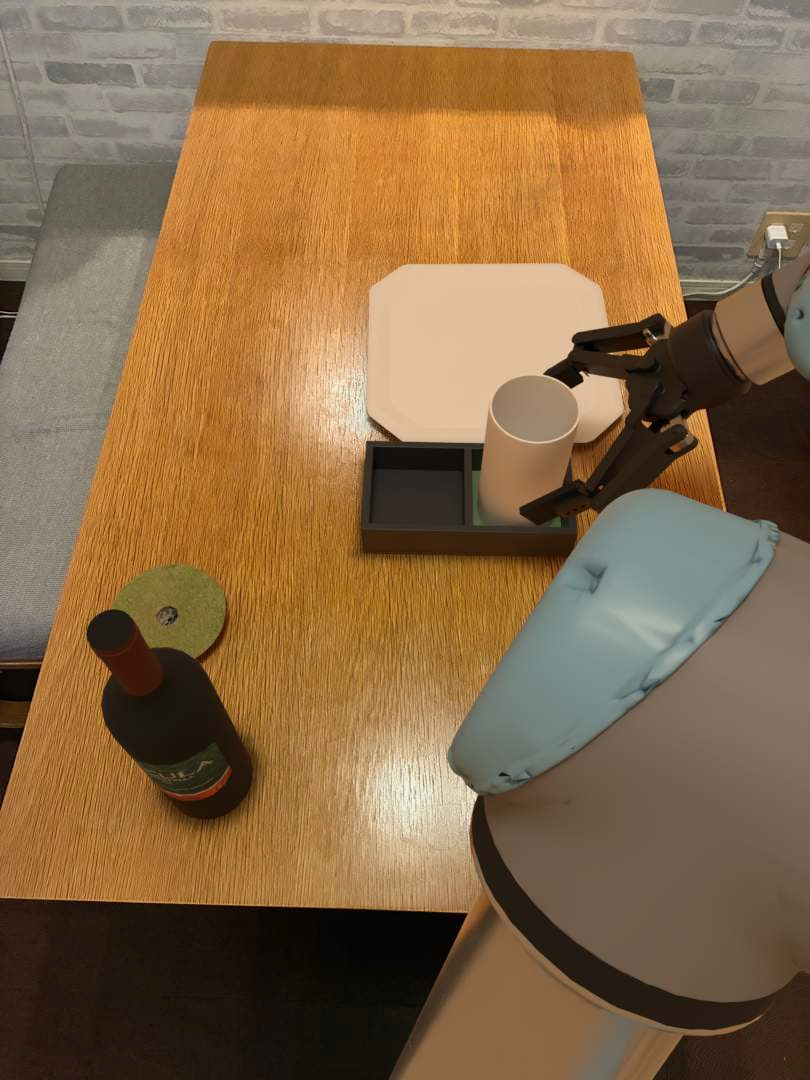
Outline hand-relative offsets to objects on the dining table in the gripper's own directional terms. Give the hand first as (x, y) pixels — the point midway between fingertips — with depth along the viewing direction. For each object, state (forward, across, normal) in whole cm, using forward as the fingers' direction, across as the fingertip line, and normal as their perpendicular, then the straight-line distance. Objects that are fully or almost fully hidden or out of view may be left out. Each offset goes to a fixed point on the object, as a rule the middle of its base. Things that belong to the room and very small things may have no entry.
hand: (524, 457), depth 82 cm
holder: (+11, 0, -4) cm, 11 cm away
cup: (+7, 0, -7) cm, 9 cm away
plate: (+9, +22, -6) cm, 25 cm away
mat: (+31, -13, +17) cm, 38 cm away
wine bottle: (+27, -28, +13) cm, 41 cm away
